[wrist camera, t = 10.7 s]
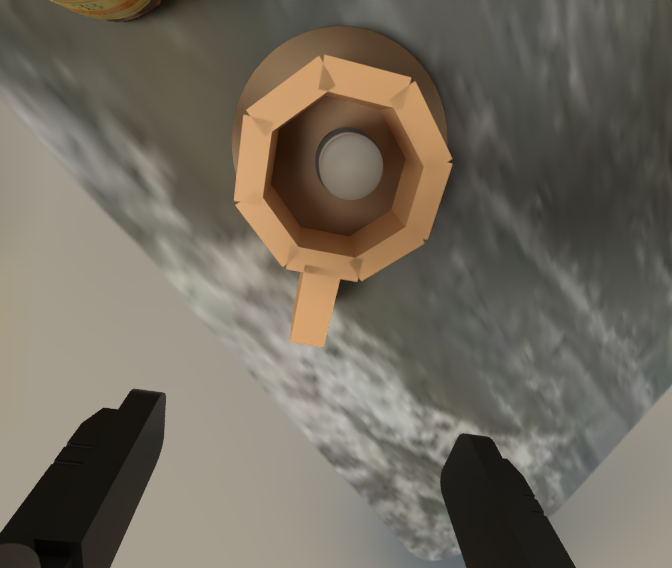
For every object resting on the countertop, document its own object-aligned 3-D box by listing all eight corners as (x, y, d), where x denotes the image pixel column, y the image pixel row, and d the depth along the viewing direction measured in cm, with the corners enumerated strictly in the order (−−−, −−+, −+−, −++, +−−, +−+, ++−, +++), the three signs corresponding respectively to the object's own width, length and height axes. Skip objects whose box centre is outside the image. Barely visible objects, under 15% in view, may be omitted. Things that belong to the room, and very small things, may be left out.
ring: (263, 50, 17) (252, 35, 14) (447, 98, 18) (475, 94, 15) (232, 300, 22) (219, 331, 19) (378, 324, 23) (388, 357, 20)
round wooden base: (251, 5, 18) (205, -78, 10) (467, 64, 19) (566, 31, 12) (227, 227, 22) (182, 285, 14) (405, 262, 23) (449, 330, 16)
